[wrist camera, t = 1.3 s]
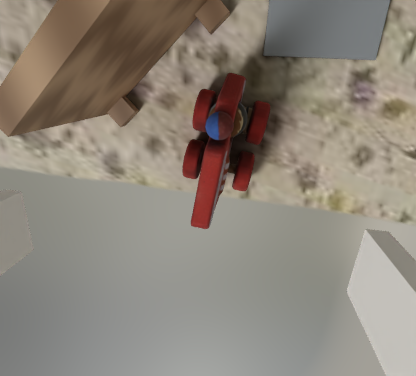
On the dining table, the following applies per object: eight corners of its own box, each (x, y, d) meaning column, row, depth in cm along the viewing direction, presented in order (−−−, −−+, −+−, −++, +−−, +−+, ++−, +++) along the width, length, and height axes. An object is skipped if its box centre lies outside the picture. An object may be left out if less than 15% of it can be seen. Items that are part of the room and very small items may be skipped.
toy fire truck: (275, 84, 27) (290, 85, 18) (242, 195, 32) (240, 245, 22) (207, 68, 28) (185, 60, 18) (184, 180, 32) (157, 223, 23)
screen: (123, 127, 31) (32, 160, 18) (83, 84, 30) (-44, 87, 17) (232, 11, 25) (216, -61, 12) (188, -45, 24) (120, -190, 11)
